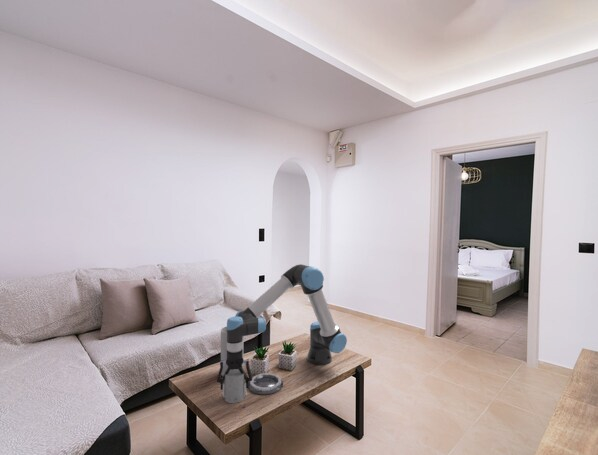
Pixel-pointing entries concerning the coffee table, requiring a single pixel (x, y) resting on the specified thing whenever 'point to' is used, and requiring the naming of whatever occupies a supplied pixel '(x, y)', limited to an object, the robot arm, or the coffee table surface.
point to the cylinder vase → (224, 348)
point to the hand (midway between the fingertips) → (234, 395)
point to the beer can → (234, 386)
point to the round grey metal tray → (265, 384)
